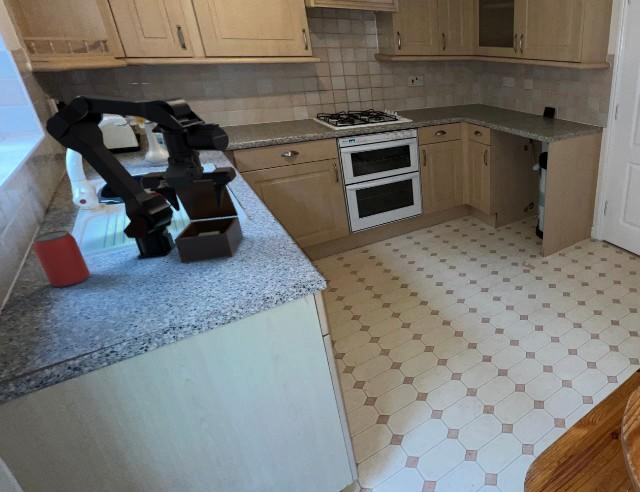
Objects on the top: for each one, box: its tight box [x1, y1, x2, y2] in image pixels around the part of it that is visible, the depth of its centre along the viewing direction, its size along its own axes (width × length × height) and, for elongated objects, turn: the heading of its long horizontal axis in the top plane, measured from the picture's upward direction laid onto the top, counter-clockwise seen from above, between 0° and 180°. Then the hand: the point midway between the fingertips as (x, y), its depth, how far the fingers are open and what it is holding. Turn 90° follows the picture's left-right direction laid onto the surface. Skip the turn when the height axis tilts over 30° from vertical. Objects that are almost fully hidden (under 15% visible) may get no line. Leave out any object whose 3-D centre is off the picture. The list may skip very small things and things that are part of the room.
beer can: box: [33, 229, 91, 288], centre depth 94 cm, size 7×7×12 cm
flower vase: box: [123, 116, 169, 167], centre depth 184 cm, size 13×18×25 cm
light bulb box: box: [155, 133, 168, 152], centre depth 205 cm, size 11×7×11 cm, turn 159°
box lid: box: [174, 179, 239, 222], centre depth 112 cm, size 13×11×5 cm
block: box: [198, 231, 220, 236], centre depth 109 cm, size 4×4×4 cm
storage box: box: [173, 216, 244, 264], centre depth 111 cm, size 12×11×7 cm
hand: (199, 208), depth 105 cm, fingers open, 9 cm apart
